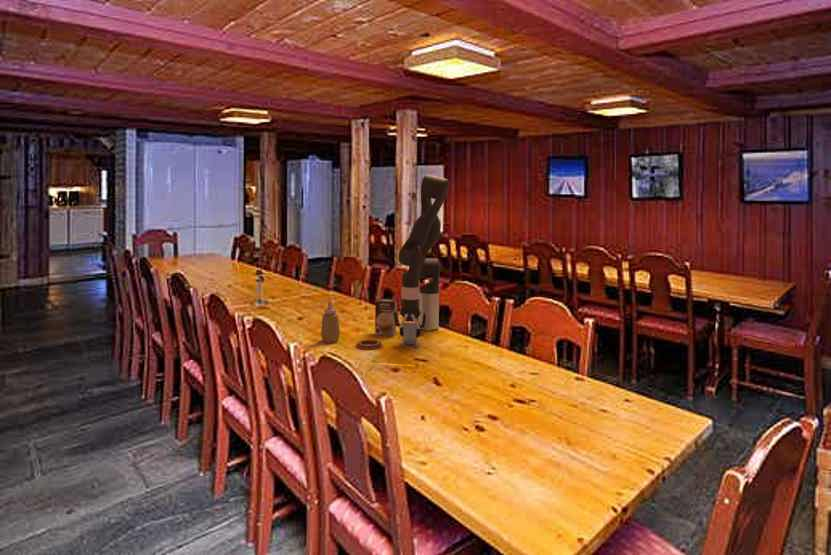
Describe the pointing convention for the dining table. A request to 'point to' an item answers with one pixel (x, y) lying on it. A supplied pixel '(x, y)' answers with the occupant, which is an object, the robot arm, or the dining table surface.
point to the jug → (409, 333)
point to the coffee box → (385, 317)
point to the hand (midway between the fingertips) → (410, 336)
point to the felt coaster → (410, 345)
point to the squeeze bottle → (330, 325)
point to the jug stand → (369, 345)
